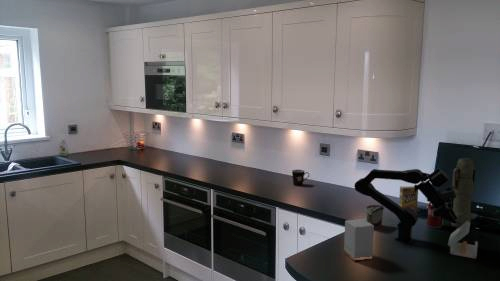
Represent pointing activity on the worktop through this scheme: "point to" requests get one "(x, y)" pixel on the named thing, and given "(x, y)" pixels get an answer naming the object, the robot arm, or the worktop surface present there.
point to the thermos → (463, 190)
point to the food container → (374, 215)
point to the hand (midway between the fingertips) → (456, 221)
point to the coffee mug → (298, 177)
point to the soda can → (433, 218)
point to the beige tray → (464, 249)
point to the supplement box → (359, 238)
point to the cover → (459, 233)
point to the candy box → (408, 198)
